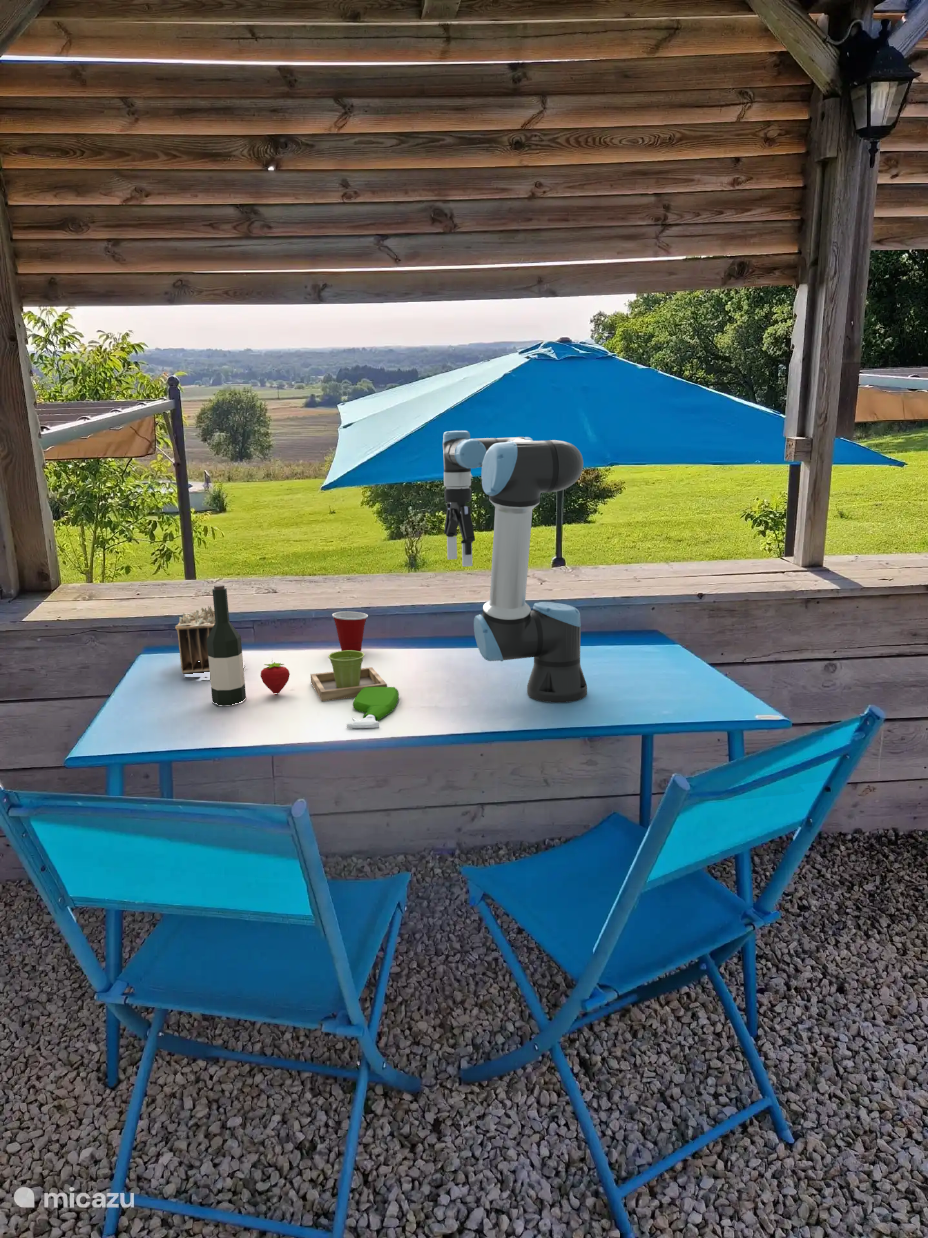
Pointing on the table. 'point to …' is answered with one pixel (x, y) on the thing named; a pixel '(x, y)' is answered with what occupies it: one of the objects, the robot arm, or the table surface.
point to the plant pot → (347, 667)
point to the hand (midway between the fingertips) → (459, 562)
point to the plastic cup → (350, 629)
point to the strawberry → (275, 676)
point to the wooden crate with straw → (195, 640)
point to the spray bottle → (374, 705)
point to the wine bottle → (225, 654)
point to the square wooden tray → (329, 691)
